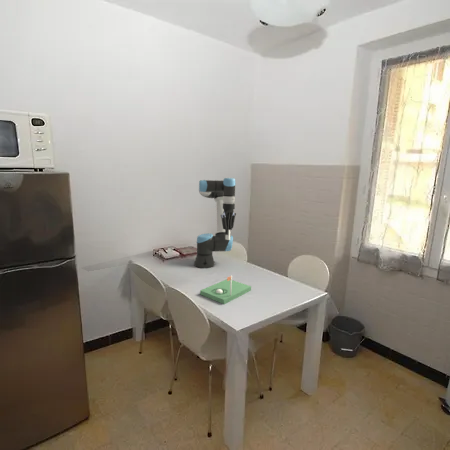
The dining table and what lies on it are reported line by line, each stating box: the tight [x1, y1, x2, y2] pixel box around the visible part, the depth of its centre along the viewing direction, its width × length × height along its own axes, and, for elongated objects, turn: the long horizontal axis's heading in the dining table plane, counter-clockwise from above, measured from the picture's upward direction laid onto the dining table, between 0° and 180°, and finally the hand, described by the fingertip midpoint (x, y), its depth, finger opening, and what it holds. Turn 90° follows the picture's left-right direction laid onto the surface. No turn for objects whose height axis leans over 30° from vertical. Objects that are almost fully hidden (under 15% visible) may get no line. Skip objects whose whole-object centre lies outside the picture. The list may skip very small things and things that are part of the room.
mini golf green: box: [199, 275, 252, 305], centre depth 172 cm, size 25×18×14 cm
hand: (227, 239), depth 190 cm, fingers closed
